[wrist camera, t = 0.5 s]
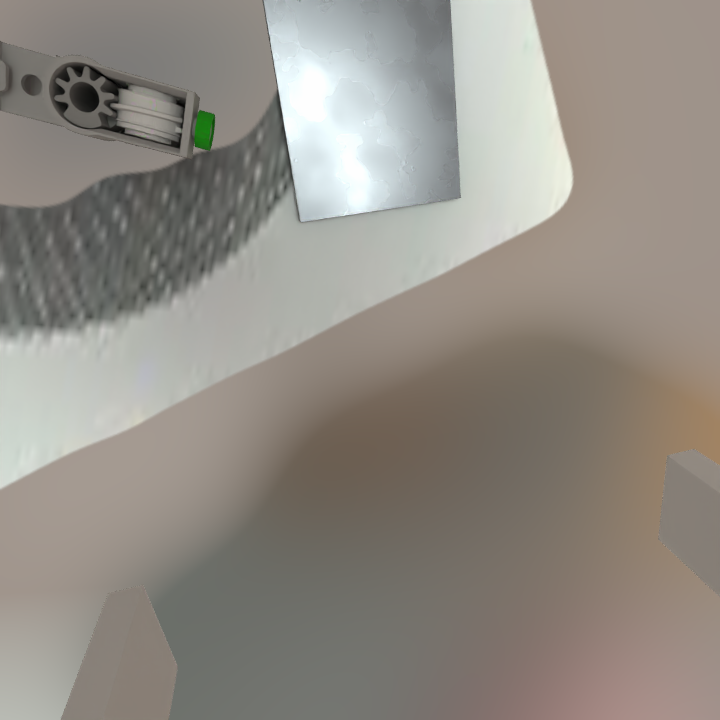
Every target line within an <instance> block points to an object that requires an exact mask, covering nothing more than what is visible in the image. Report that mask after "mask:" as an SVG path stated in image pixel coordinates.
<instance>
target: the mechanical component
mask: <svg viewBox="0 0 720 720" xmlns="http://www.w3.org/2000/svg"><path fill="white" fill-rule="evenodd" d="M199 100H200V98H199V97H198V96H197V94H196V93H195V92H192V91H189V90H185V89H182V88H178V87H174V86H171V85H168V84H164V83H161V82H157V81H154V80H150V79H147V78H143V77H140V76H136V75H133V74H129V73H126V72H122V71H118V70H115V69H111V68H108V67H104V66H102V65H100V64H99V63H97V62H96V61H94V60H92V59H90V58H88V57H84V56H80V55H68V56H63V57H60V56H56V57H52V56H49V55H45V54H42V53H38V52H35V51H31V50H28V49H24V48H21V47H17V46H14V45H10V44H7V43H3V42H1V41H0V110H1V111H5V112H9V113H12V114H16V115H20V116H24V117H28V118H31V119H36V120H40V121H43V122H47V123H51V124H55V125H59V126H63V127H65V128H67V129H68V130H70V131H72V132H75V133H78V134H81V135H85V136H89V137H93V138H97V139H101V140H107V141H115V140H118V141H122V142H125V143H129V144H132V145H136V146H142V147H145V148H149V149H153V150H157V151H161V152H165V153H169V154H173V155H177V156H181V157H185V158H189V159H192V154H193V146H194V144H195V147H198V148H201V149H205V150H209V151H210V149H211V146H212V141H213V135H214V127H215V115H214V114H212V113H208V112H205V111H201V110H200V111H199V112H198V108H199Z"/></svg>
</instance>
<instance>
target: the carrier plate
mask: <svg viewBox="0 0 720 720" xmlns="http://www.w3.org/2000/svg"><path fill="white" fill-rule="evenodd" d="M263 5H264V11H265V17H266V23H267V29H268V34H269V41H270V47H271V53H272V58H273V65H274V70H275V76H276V82H277V88H278V94H279V100H280V106H281V112H282V118H283V124H284V130H285V136H286V142H287V148H288V154H289V160H290V166H291V171H292V177H293V183H294V189H295V195H296V201H297V207H298V213H299V219H300V222H305V221H312V220H318V219H325V218H332V217H338V216H345V215H351V214H358V213H365V212H371V211H378V210H385V209H391V208H398V207H405V206H411V205H418V204H425V203H431V202H438V201H445V200H451V199H458V198H461V195H460V177H459V158H458V139H457V120H456V101H455V82H454V64H453V45H452V26H451V7H450V0H263Z"/></svg>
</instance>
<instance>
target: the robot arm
mask: <svg viewBox="0 0 720 720" xmlns="http://www.w3.org/2000/svg"><path fill="white" fill-rule="evenodd" d="M658 539H659V540H660V541H661V542H662V543H663V544H664V545H665V546H666V547H667V548H668V549H669V550H670V551H671V552H672V553H674V554H675V555H676V556H677V557H678V558H679V559H680V560H681V561H682V562H683V563H684V564H685V565H686V566H687V567H688V568H690V569H691V570H692V571H693V572H694V573H695V574H696V575H697V576H698V577H699V578H700V579H701V580H702V581H703V582H704V583H705V584H706V585H708V586H709V587H710V588H711V589H712V590H713V591H714V592H715V593H716V594H717V595H718V596H720V465H718V464H716V463H715V462H713V461H712V460H710V459H708V458H707V457H706V456H704V455H702V454H701V453H699V452H698V451H696V450H695V449H692V450H688V451H684V452H680V453H676V454H672V455H668V456H667V462H666V471H665V481H664V490H663V500H662V509H661V519H660V529H659V538H658ZM177 669H178V666H177V664H176V662H175V659H174V657H173V655H172V652H171V650H170V647H169V645H168V643H167V640H166V638H165V636H164V633H163V631H162V629H161V627H160V624H159V622H158V619H157V617H156V615H155V612H154V610H153V607H152V605H151V603H150V600H149V598H148V596H147V593H146V591H145V589H144V586H143V585H139V586H135V587H131V588H127V589H123V590H119V591H115V592H111V593H108V595H107V598H106V600H105V603H104V606H103V608H102V611H101V614H100V616H99V619H98V622H97V625H96V627H95V630H94V632H93V635H92V638H91V640H90V643H89V646H88V648H87V651H86V654H85V656H84V659H83V662H82V664H81V667H80V670H79V672H78V675H77V678H76V680H75V683H74V686H73V688H72V691H71V694H70V696H69V699H68V702H67V705H66V708H65V710H64V713H63V715H62V718H61V720H168V719H169V714H170V708H171V702H172V697H173V691H174V686H175V680H176V674H177Z"/></svg>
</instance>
